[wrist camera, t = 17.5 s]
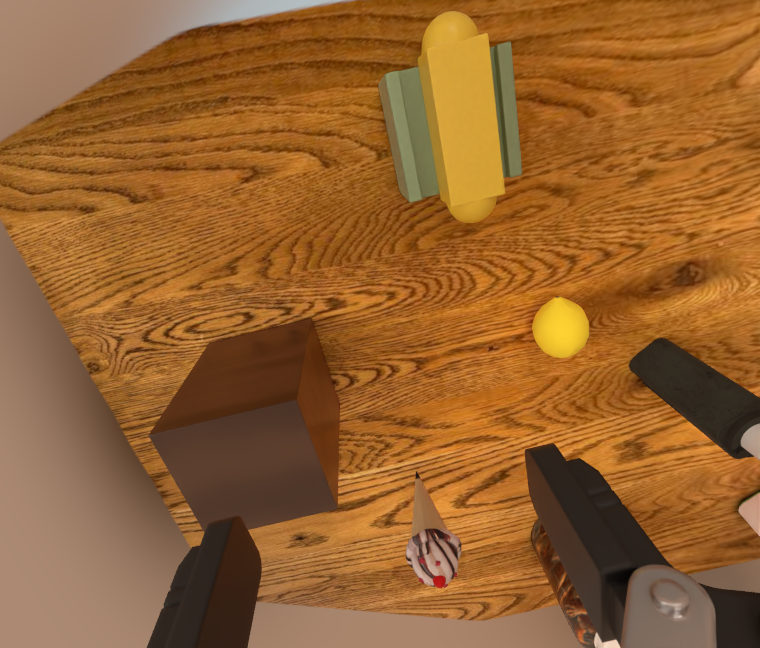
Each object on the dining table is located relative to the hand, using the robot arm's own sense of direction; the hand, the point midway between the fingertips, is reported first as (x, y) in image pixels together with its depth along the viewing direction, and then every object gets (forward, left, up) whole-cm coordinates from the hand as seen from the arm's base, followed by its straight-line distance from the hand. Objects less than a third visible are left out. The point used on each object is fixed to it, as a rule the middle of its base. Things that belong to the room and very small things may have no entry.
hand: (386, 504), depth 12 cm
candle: (+22, +30, -32) cm, 49 cm away
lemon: (+13, +18, -32) cm, 39 cm away
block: (-8, +10, -32) cm, 34 cm away
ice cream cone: (+30, 0, -32) cm, 44 cm away
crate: (+12, -12, -32) cm, 36 cm away
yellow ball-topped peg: (-8, +10, -26) cm, 29 cm away
